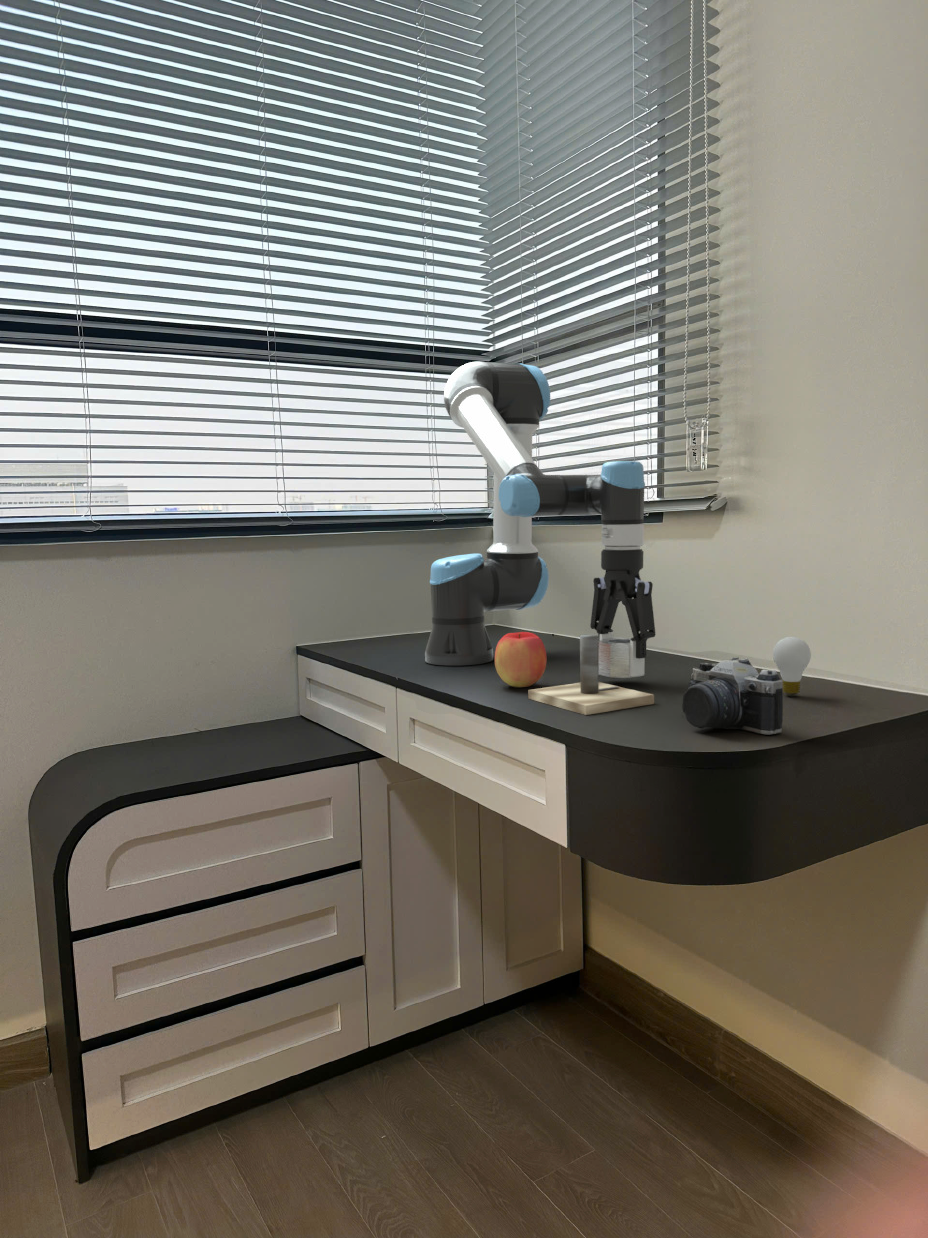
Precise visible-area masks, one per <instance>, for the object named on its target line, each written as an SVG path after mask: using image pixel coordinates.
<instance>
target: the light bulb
mask: <svg viewBox="0 0 928 1238" xmlns="http://www.w3.org/2000/svg"><path fill="white" fill-rule="evenodd" d="M811 657H812V653H811V648H810V646H809V645H808V643H806V641H804V640H803V639H802V638H800V637H797V636H787V637H783V638H782V639H780V640H779V641H777V643H776V644H775V645H774V647H773V650H772V658H773V661H774V663H775V666H776V667H777V668H778V670H779V674H780V677H781V678H780V679H781V680H782V681H783V693H784V694H786V695H787V696H788V697H795V696H796V695H798V694H799V693H800V690H801V689H800V688H801V681H802V677H803V674H804V671H805V670H806V668H807V667H808V665H809V664H810V662H811Z"/></svg>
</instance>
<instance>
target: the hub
mask: <svg viewBox="0 0 928 1238" xmlns="http://www.w3.org/2000/svg"><path fill="white" fill-rule="evenodd" d="M631 638H632V637H613V638H607V639H601V640H600V641H599V648H598V676H604V677H608V678H619V679H621V678H622V679H623V678H624V679H632V678H633V677H632V676H630V640H631ZM643 676H644V675H642V676H641V677H643ZM637 677H640V676H635V677H634V678H637Z"/></svg>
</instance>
